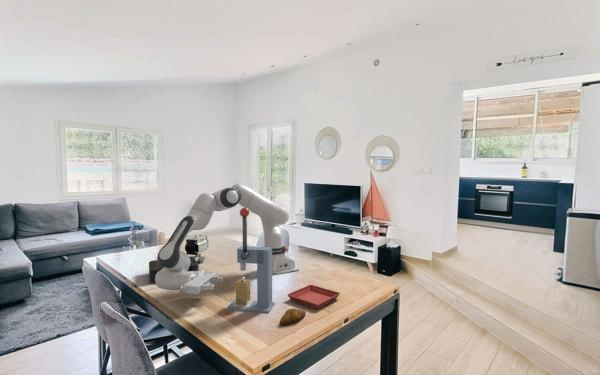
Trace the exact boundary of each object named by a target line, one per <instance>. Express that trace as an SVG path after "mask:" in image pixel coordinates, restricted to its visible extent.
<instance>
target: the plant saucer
mask: <svg viewBox="0 0 600 375" xmlns="http://www.w3.org/2000/svg"><path fill="white" fill-rule="evenodd" d="M340 295H341V293H340V292H339V291H335V290H331V289H327V288H325V287H320V286H316V285H313V284H309V285H306V286H303V287H302V288H299V289H296V290H294V291H293V292H290V293H288V294H287V296H288V298H289V299H290V300H291V301H293V302H294V303H295V302H296V303H298V304H300V305H304V306H307V307H311V308H312V309H316V310H317V309H319V308H321V307H323V306H325V305H327V304H329V303H330V302H333V301H335V300H336V299H337V298H338V297H339V296H340ZM334 299H335V300H334Z"/></svg>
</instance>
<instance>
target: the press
mask: <svg viewBox="0 0 600 375" xmlns="http://www.w3.org/2000/svg"><path fill="white" fill-rule="evenodd" d="M247 252H248V253H249V257H248V258H247V259H246V260H243V259H242V258H241V254H242V253H243V245H241V246H240V247H238V248H236V261H237V264H239V265H240V266H239V267H240V268H239V269H240V271H243V272H244V271H246V269H247V267H246V266H247V264H252V265H253V264H255V265H256V267H257V268H256V271H257V272H256V278H257V279H256V285H257V286H256V287H257V289H256V290H257V291H256V292H257V294H256V295H257V298H256V300H253V299H250V302H249V303H248V305H247V306H246V305H236V298H234V299H233V300H232V301H231V302H230V303H229V304H228V305H227V307H225V308H226V310H228V311H238V312H240V311H242V312H250V313H251V312H252V313H263V314H269V313H270V312H271V310H272V309H273V307H275V301H273V273H272V247H264V246H254V245H247Z"/></svg>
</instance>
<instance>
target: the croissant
mask: <svg viewBox="0 0 600 375" xmlns="http://www.w3.org/2000/svg"><path fill="white" fill-rule="evenodd" d="M306 314H307V313H306V311H305V310H303V309H296V308H288V309H287V310H285V312H284V314H283V315H282V317H281V318H280V320H279V324H280V325H281V326H287V325H291V324H292V323H296V322H299V320H301V319H303V318H304V317H305V316H306Z"/></svg>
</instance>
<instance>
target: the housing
mask: <svg viewBox="0 0 600 375" xmlns="http://www.w3.org/2000/svg"><path fill="white" fill-rule="evenodd" d="M235 299H236V305H246V306H247V305H248V303H249V302H250V300H251V279H250V278H248V279H247V278H245V277H244V276H241V278H238V280H237V281H235Z"/></svg>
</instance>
